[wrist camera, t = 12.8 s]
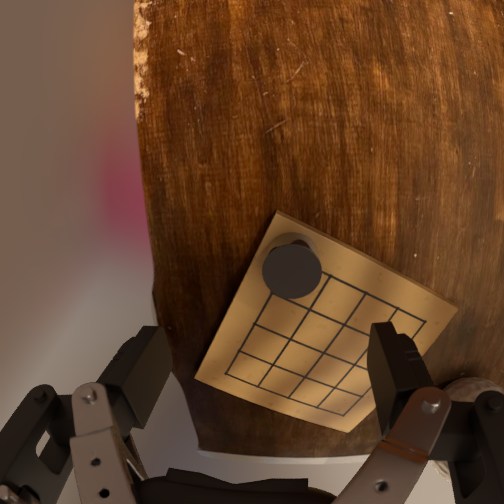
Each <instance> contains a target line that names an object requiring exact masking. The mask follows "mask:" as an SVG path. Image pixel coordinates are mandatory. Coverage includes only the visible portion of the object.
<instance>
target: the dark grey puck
mask: <svg viewBox="0 0 504 504" xmlns="http://www.w3.org/2000/svg"><path fill="white" fill-rule="evenodd" d="M262 276H263V280H264V282H265V284H266V286H267V287H268V288H269V290H270V291H272V292H273V293H274V294H276V295H278V296H280V297H282V298H286V299H298V298H302V297H305V296H307V295H309V294H310V293H311V292H313V291H314V290H315V289H316V288H317V286H318V285H319V283H320V280H321V277H322V266H321V260H320V255H319V251H318V248H317V246H316V244H315V243H314V242H313V241H312V240H311V239H310V238H309V237H307V236H306V235H303V234H301V233H296V232H289V233H284V234H281V235H279V236H277V237H276V238H275V239H274V240H273V241H272V242H271V243H270V244H269V246H268V248H267V251H266V255H265V259H264V262H263V266H262Z"/></svg>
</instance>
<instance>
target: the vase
mask: <svg viewBox="0 0 504 504" xmlns="http://www.w3.org/2000/svg"><path fill="white" fill-rule="evenodd" d="M488 390H494V391H498V392H500V393H502V394H504V389H503V388H502V387H500V386H499V385H498V384H496V383H494V382H492V381H490V380H487V379H484V378H480V377H463V378H459V379H457V380H455V381H453V382H451V383H450V384H448V385H447V386H446V387H445V388H444V389H443V391H444V392H446V393H447V394H448V396H449V397H450V399H451V400H453V401H464V402H474V401H475V399H476V398H477V396H478V395H479V394H480V393H482V392H484V391H488ZM431 462H432V464H433V466H434V468H435V469H436V471H437V472H438V473H439V474H440V475H441V476H442V477H443V478H444V479H445V480H447V481H448V482H450V483H452V482H451V477H450V472H449V468H448V463H447V461H433V460H431Z"/></svg>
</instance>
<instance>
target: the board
mask: <svg viewBox="0 0 504 504" xmlns="http://www.w3.org/2000/svg"><path fill="white" fill-rule="evenodd" d="M289 232H296V233H301V234H303V235H306V236H307V237H309V238H310V239H311V240H312V241H313V242H314V243H315V244H316V246H317V248H318V251H319V255H320V260H321V266H322V277H321V280H320V283H319V285H318V286H317V288H316V289H315V290H314V291H313V292H311V293H310V294H309V295H307V296H305V297H302V298H298V299H286V298H282V297H280V296H278V295H276V294H274V293H273V292H272V291H270V290H269V288H268V287H267V286H266V284H265V282H264V280H263V276H262V266H263V262H264V259H265V255H266V251H267V248H268V246H269V244H270V243H271V242H272V241H273V240H274V239H275V238H276V237H277V236H279V235H281V234H284V233H289ZM457 310H458V307H457V306H456V305H455V304H454V302H452V301H450V300H449V299H447V298H445V297H443V296H442V295H440V294H438V293H436V292H435V291H433V290H431V289H429V288H428V287H426V286H424V285H422V284H420V283H419V282H417V281H415V280H413V279H411V278H410V277H408V276H406V275H404V274H402V273H400V272H399V271H397V270H395V269H393V268H391V267H389V266H388V265H386V264H384V263H382V262H380V261H378V260H376V259H374V258H372V257H371V256H369V255H367V254H365V253H363V252H361V251H359V250H357V249H355V248H353V247H351V246H349V245H347V244H346V243H344V242H342V241H340V240H338V239H336V238H334V237H332V236H330V235H328V234H326V233H324V232H322V231H320V230H318V229H316V228H314V227H312V226H310V225H308V224H306V223H304V222H302V221H300V220H297V219H295V218H293V217H291V216H289V215H287V214H285V213H283V212H281V211H279V210H276V212H275V214H274V216H273V218H272V220H271V222H270V224H269V226H268V228H267V230H266V232H265V234H264V236H263V238H262V240H261V243H260V245H259V247H258V249H257V251H256V253H255V255H254V257H253V259H252V261H251V263H250V265H249V267H248V269H247V271H246V273H245V275H244V277H243V279H242V281H241V283H240V285H239V287H238V289H237V291H236V293H235V296H234V298H233V300H232V302H231V304H230V306H229V308H228V310H227V312H226V314H225V316H224V318H223V320H222V322H221V324H220V326H219V328H218V330H217V332H216V334H215V336H214V338H213V340H212V342H211V344H210V346H209V348H208V350H207V352H206V354H205V356H204V358H203V360H202V362H201V365H200V367H199V369H198V371H197V373H196V375H195V379H197V380H199V381H201V382H204V383H206V384H208V385H211V386H213V387H215V388H218V389H220V390H223V391H225V392H227V393H230V394H232V395H235V396H237V397H240V398H242V399H245V400H248V401H250V402H253V403H256V404H258V405H261V406H264V407H267V408H269V409H272V410H275V411H278V412H281V413H284V414H287V415H290V416H293V417H296V418H299V419H303V420H306V421H309V422H312V423H316V424H319V425H323V426H326V427H330V428H333V429H337V430H341V431H345V432H349V431H351V430H352V429H353V428H354V427H355V426H356V425H357V424H358V423H359V422H360V421H362V420H363V419H364V418H365V417H366V416H367V415H368V414H369V413H370V412H371V411H372V410H373V409H374V408H375V407H376V405H375V400H374V396H373V391H372V387H371V383H370V379H369V375H368V370H367V351H368V344H369V336H370V328H371V324H372V323H377V322H389V321H391V322H392V323H393V325H394V327H395V330H396V332H397V334H401V333H405V334H406V335H408V336H409V337H410V338H411V339H412V340H413V341H414V342H415V344H416V346H417V348H418V352H419V353H420V355H421V357H422V356H423V355H424V354H425V352H426V351H427V350H428V349H429V347H430V346H431V345H432V344H433V342H434V341H435V340H436V339H437V337H438V336H439V335H440V333H441V332H442V331H443V329H444V328H445V327H446V325H447V324H448V323H449V321H450V320H451V319H452V317H453V316H454V314H455V313H456V312H457Z"/></svg>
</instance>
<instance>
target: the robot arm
mask: <svg viewBox="0 0 504 504" xmlns="http://www.w3.org/2000/svg"><path fill="white" fill-rule="evenodd" d="M172 365H173V359H172V354H171V351H170V348H169V344H168V341H167V338H166V334H165V331H164V329H163V327H161V326H143V327H142V328H141V330H140V331H139V332H138V334H137V335H136V337H132V338H130V339H129V340H128V341H126V342H125V343H124V344H123V345H122V346H121V348H120V349H119V350H118V353H117V354H116V355H115V356H114V357H113V360H111V361H110V363H109V364H108V366H107V367H106V369H105V370H104V371H103V373H102V374H101V376H100V377H99V379H98V380H97V381H96V382H90V383H86V384H83V385H81V386H80V387H78V388H77V389H76V390H75V391H74V393H73V395H57V393H56V391H55V390H54V388H53V387H52V386H50V385H47V384H43V385H39V386H36V387H34V388H33V389H32V390H31V391H30V392H29V393H28V394H27V395H26V397H25V398H24V399H23V401H22V402H21V403H20V405H19V406H18V408H17V409H16V410H15V412H14V413H13V414H12V416H11V417H10V419H9V420H8V422H7V423H6V424H5V426H4V427H3V429H2V430H1V432H0V504H56V503H57V500H58V498H59V496H60V494H61V491H62V489H63V487H64V485H65V483H66V481H67V479H68V477H69V475H70V473H71V470H72V468H73V467H74V472H75V477H76V482H77V487H78V492H79V496H80V500H81V504H404V503H405V501H406V499H407V498H408V496H409V495H410V493H411V491H412V489H413V488H414V485H415V484H416V482H417V481H418V479H419V477H420V475H421V474H422V472H423V470H424V468H425V466H426V464H427V462H428V460H433V461H447V463H448V468H449V472H450V477H451V482H452V487H453V492H454V498H455V503H456V504H504V394H502V393H500V392H498V391H494V390H488V391H484V392H482V393H480V394H479V395H478V396H477V398H476V399H475V401H474V402H464V401H453V400H451V399H450V397H449V396H448V394H447V393H446V392H444V391H443V390H441V389H439V388H436V387H435V386H434V384H433V381H432V379H431V377H430V375H429V372H428V370H427V368H426V366H425V363H424V361H423V360H422V357H421V355H420V353H419V352H418V348H417V346H416V344H415V342H414V341H413V340H412V339H411V338H410V337H409V336H408V335H406V334H405V333H401V334H397V332H396V330H395V327H394V325H393V323H392V322H391V321H389V322H377V323H372V324H371V328H370V336H369V344H368V351H367V370H368V375H369V379H370V383H371V387H372V391H373V396H374V400H375V405H376V409H377V414H378V418H379V423H380V428H381V433H382V437H383V436H386V438H385V439H384V440H381V441H380V442H379V443H378V444H377V446H376V447H375V449H374V450H373V451H372V453H371V454H370V456H369V457H368V458H367V460H366V461H365V463H364V464H363V465H362V467H361V468H360V469H359V471H358V472H357V473H356V474H355V476H354V477H353V478H352V480H351V481H350V482H349V483H348V485H347V486H346V487H345V488H344V490H343V491H342V492H341V493H340V494H339V495H338V497H337V496H335V495H333V494H331V493H329V492H326V491H323V490H320V489H317V488H312V487H308V478H302V479H266V480H261V481H254V482H247V483H240V484H232V483H229V482H225V481H222V480H219V479H216V478H214V477H211V476H208V475H205V474H202V473H198V472H191V471H185V470H179V469H174V468H169V469H168V472H167V474H166V476H161V477H153V478H149V477H148V476H147V474H146V472H145V470H144V467H143V465H142V462H141V460H140V457H139V454H138V452H137V449H136V446H135V443H134V441H133V438H132V436H131V434H130V431H131V429H132V427H135V428H140V429H144V427H145V425H146V423H147V421H148V419H149V417H150V414H151V412H152V410H153V408H154V406H155V403H156V402H157V399H158V397H159V395H160V393H161V391H162V389H163V387H164V385H165V383H166V381H167V379H168V377H169V374H170V372H171V370H172ZM45 430H46V431H47V433H48V434H49V435H50V439H49V440H48V442H47V444H46V445H45V447H44V449H43V450H42V452H41V454H40V456H39V458H38V456H37V454H36V446H37V444H38V442H39V440H40V439H41V437H42V435H43V434H44V432H45Z"/></svg>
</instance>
